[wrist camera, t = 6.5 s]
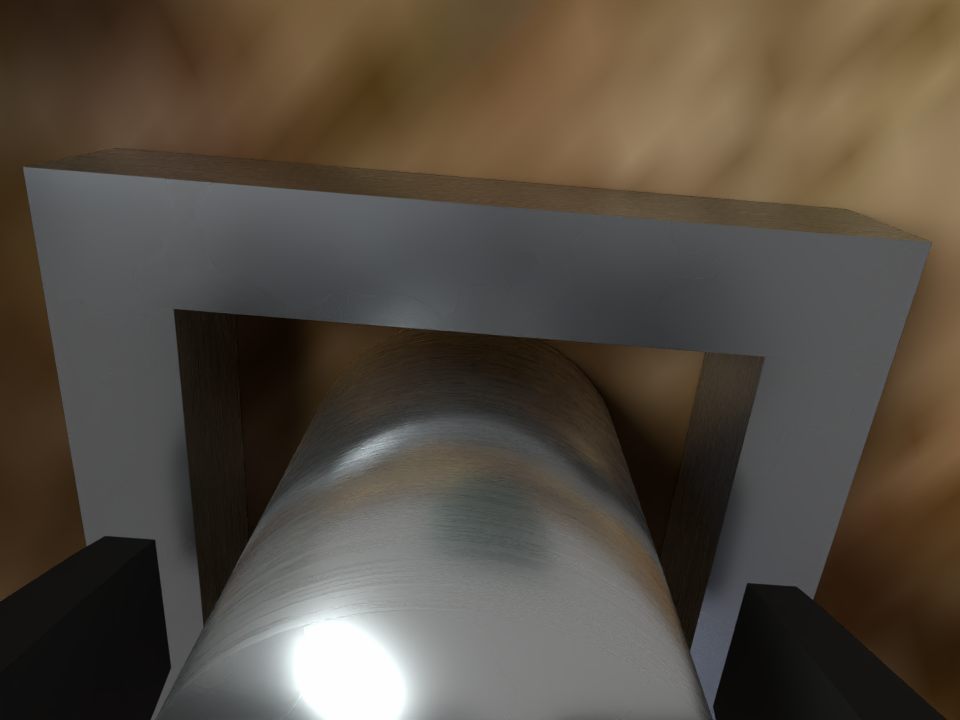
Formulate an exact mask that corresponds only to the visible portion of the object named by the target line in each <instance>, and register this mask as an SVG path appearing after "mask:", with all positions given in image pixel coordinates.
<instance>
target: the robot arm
mask: <svg viewBox="0 0 960 720" xmlns="http://www.w3.org/2000/svg"><path fill="white" fill-rule="evenodd" d="M170 670H171V661H170V653H169V645H168V637H167V629H166V621H165V613H164V605H163V597H162V589H161V581H160V573H159V565H158V557H157V549H156V541H155V539H141V538H128V537H114V536H104V537H102V538H100V539H99V540H97V541H95V542H94V543H92V544H90V545H88V546H87V547H85V548H83V549H82V550H80V551H79V552H77V553H75V554H74V555H72V556H71V557H69V558H67V559H66V560H64V561H63V562H61V563H60V564H58V565H56V566H55V567H53V568H52V569H50V570H49V571H47V572H46V573H44V574H42V575H41V576H39V577H38V578H36V579H35V580H33V581H32V582H30V583H29V584H27V585H25V586H24V587H22V588H21V589H19V590H18V591H16V592H15V593H13V594H12V595H10V596H9V597H7V598H5V599H4V600H2V601H1V602H0V720H151V718H152V716H153V713H154V711H155V708H156V706H157V703H158V700H159V698H160V695H161V693H162V690H163V688H164V685H165V683H166V680H167V677H168V675H169V672H170ZM713 709H714V714H715V719H716V720H946V719H945V718H944V717H943V716H942V715H941V714H940V713H939V712H937V711H936V710H935V709H934V708H933V707H932V706H931V705H929V704H928V703H927V702H926V701H925V700H924V699H923V698H922V697H920V696H919V695H918V694H917V693H916V692H915V691H914V690H913V689H912V688H910V687H909V686H908V685H907V684H906V683H905V682H904V681H903V680H902V679H900V678H899V677H898V676H897V675H896V674H895V673H894V672H893V671H892V670H890V669H889V668H888V667H887V666H886V665H885V664H884V663H883V662H882V661H881V660H879V659H878V658H877V657H876V656H875V655H874V654H873V653H872V652H871V651H869V650H868V649H867V648H866V647H865V646H864V645H863V644H862V643H861V642H860V641H858V640H857V639H856V638H855V637H854V636H853V635H852V634H851V633H850V632H849V631H847V630H846V629H845V628H844V627H843V626H842V625H841V624H840V623H839V622H837V621H836V620H835V619H834V618H833V617H832V616H831V615H830V614H828V613H827V612H826V611H825V610H824V609H823V608H822V607H821V606H819V605H818V604H817V603H816V602H815V601H814V600H812V599H811V598H810V597H809V596H808V595H806V594H805V593H804V592H803V591H802V590H800V589H799V588H798V587H796V586H782V585H769V584H755V583H747V585H746V589H745V592H744V596H743V600H742V603H741V607H740V610H739V614H738V618H737V621H736V625H735V628H734V632H733V635H732V639H731V643H730V646H729V650H728V653H727V657H726V661H725V664H724V668H723V671H722V675H721V679H720V682H719V686H718V689H717V693H716V697H715V700H714V704H713Z"/></svg>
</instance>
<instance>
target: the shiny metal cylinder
mask: <svg viewBox="0 0 960 720" xmlns="http://www.w3.org/2000/svg"><path fill="white" fill-rule="evenodd" d="M155 720H713V718H712V715H711V712H710V709H709V706H708V703H707V701H706V698H705V695H704V692H703V689H702V686H701V683H700V680H699V677H698V674H697V671H696V668H695V665H694V662H693V659H692V656H691V653H690V650H689V647H688V644H687V641H686V638H685V635H684V632H683V629H682V626H681V623H680V620H679V617H678V615H677V612H676V609H675V606H674V603H673V600H672V597H671V594H670V591H669V588H668V585H667V582H666V579H665V576H664V573H663V570H662V567H661V564H660V561H659V558H658V555H657V552H656V549H655V546H654V543H653V540H652V537H651V534H650V531H649V529H648V526H647V523H646V520H645V517H644V514H643V511H642V508H641V505H640V502H639V499H638V496H637V493H636V490H635V487H634V484H633V481H632V478H631V475H630V472H629V469H628V466H627V463H626V460H625V457H624V454H623V451H622V448H621V445H620V443H619V440H618V437H617V434H616V431H615V428H614V425H613V422H612V419H611V416H610V413H609V411H608V409H607V407H606V405H605V403H604V401H603V399H602V397H601V395H600V394H599V392H598V391H597V390H596V388H595V387H594V385H593V384H592V383H591V381H590V380H589V379H588V378H587V377H586V376H585V375H584V373H583V372H582V371H581V370H580V369H579V368H578V367H577V366H576V365H575V364H574V363H572V362H571V361H570V360H569V359H567V358H566V357H565V356H563V355H562V354H561V353H560V352H558V351H557V350H555V349H553V348H552V347H550V346H548V345H547V344H545V343H543V342H542V341H539V340H537V339H535V338H528V337H515V336H503V335H490V334H478V333H466V332H453V331H441V330H429V329H416V328H414V329H411V330H409V331H406V332H403V333H400V334H397V335H394V336H392V337H390V338H388V339H386V340H384V341H382V342H380V343H378V344H376V345H375V346H373V347H372V348H370V349H369V350H367V351H366V352H364V353H363V354H362V355H360V356H359V357H357V358H356V359H355V360H354V361H353V362H352V363H351V364H350V365H349V366H348V367H347V368H345V369H344V370H343V372H342V373H341V374H340V375H339V377H338V378H337V379H336V380H335V381H334V383H333V384H332V385H331V387H330V389H329V390H328V392H327V394H326V395H325V397H324V399H323V400H322V402H321V404H320V406H319V408H318V410H317V412H316V413H315V415H314V417H313V419H312V421H311V423H310V425H309V427H308V429H307V431H306V433H305V434H304V436H303V438H302V440H301V442H300V444H299V446H298V448H297V450H296V452H295V454H294V455H293V457H292V459H291V461H290V463H289V465H288V467H287V469H286V471H285V473H284V475H283V476H282V478H281V480H280V482H279V484H278V486H277V488H276V490H275V492H274V494H273V496H272V497H271V499H270V501H269V503H268V505H267V507H266V509H265V511H264V513H263V515H262V517H261V518H260V520H259V522H258V524H257V526H256V528H255V530H254V532H253V534H252V536H251V538H250V539H249V541H248V543H247V545H246V547H245V549H244V551H243V553H242V555H241V557H240V559H239V560H238V562H237V564H236V566H235V568H234V570H233V572H232V574H231V576H230V578H229V580H228V581H227V583H226V585H225V587H224V589H223V591H222V593H221V595H220V597H219V599H218V601H217V602H216V604H215V606H214V608H213V610H212V612H211V614H210V616H209V618H208V620H207V622H206V623H205V625H204V627H203V629H202V631H201V633H200V635H199V637H198V639H197V641H196V643H195V644H194V646H193V648H192V650H191V652H190V654H189V656H188V658H187V660H186V662H185V664H184V665H183V667H182V669H181V671H180V673H179V675H178V677H177V679H176V681H175V683H174V685H173V686H172V688H171V690H170V692H169V694H168V696H167V698H166V700H165V702H164V704H163V706H162V707H161V709H160V711H159V713H158V715H157V717H156V719H155Z"/></svg>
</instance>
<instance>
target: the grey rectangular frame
mask: <svg viewBox="0 0 960 720" xmlns="http://www.w3.org/2000/svg"><path fill="white" fill-rule="evenodd" d="M23 171H24V177H25V183H26V189H27V195H28V201H29V207H30V212H31V218H32V224H33V230H34V236H35V242H36V248H37V254H38V260H39V266H40V272H41V278H42V284H43V290H44V296H45V302H46V308H47V314H48V320H49V326H50V332H51V338H52V344H53V350H54V356H55V362H56V367H57V373H58V379H59V385H60V391H61V397H62V403H63V409H64V415H65V421H66V427H67V433H68V439H69V445H70V451H71V457H72V463H73V469H74V475H75V481H76V487H77V493H78V499H79V505H80V511H81V516H82V522H83V528H84V534H85V540H86V546H88V545H90V544H92V543H94V542H95V541H97V540H99V539H100V538H102V537H104V536H114V537H128V538H141V539H155V541H156V549H157V557H158V565H159V573H160V581H161V589H162V597H163V605H164V613H165V621H166V629H167V637H168V645H169V653H170V661H171V670H170V672H169V675H168V677H167V680H166V683H165V685H164V688H163V690H162V693H161V695H160V698H159V700H158V703H157V706H156V708H155V711H154V713H153V716H152V718H151V720H155V719H156V717H157V715H158V713H159V711H160V709H161V707H162V706H163V704H164V702H165V700H166V698H167V696H168V694H169V692H170V690H171V688H172V686H173V685H174V683H175V681H176V679H177V677H178V675H179V673H180V671H181V669H182V667H183V665H184V664H185V662H186V660H187V658H188V656H189V654H190V652H191V650H192V648H193V646H194V644H195V643H196V641H197V639H198V637H199V635H200V633H201V631H202V629H203V627H204V625H205V623H206V622H207V620H208V618H209V616H210V614H211V612H212V610H213V608H214V606H215V604H216V602H217V601H218V599H219V597H220V595H221V593H222V591H223V589H224V587H225V585H226V583H227V581H228V580H229V578H230V576H231V574H232V572H233V570H234V568H235V566H236V564H237V562H238V560H239V559H240V557H241V555H242V553H243V551H244V549H245V547H246V545H247V543H248V541H249V536H248V519H247V502H246V485H245V468H244V451H243V434H242V417H241V400H240V383H239V366H238V349H237V331H236V314H243V315H255V316H267V317H280V318H292V319H305V320H317V321H329V322H342V323H354V324H367V325H379V326H391V327H404V328H416V329H429V330H441V331H453V332H466V333H478V334H490V335H503V336H515V337H528V338H540V339H552V340H565V341H577V342H590V343H602V344H614V345H627V346H639V347H652V348H664V349H676V350H689V351H701V352H705V356H704V361H703V365H702V370H701V375H700V379H699V384H698V388H697V393H696V397H695V402H694V406H693V411H692V416H691V420H690V425H689V429H688V434H687V438H686V443H685V447H684V452H683V457H682V461H681V466H680V470H679V475H678V479H677V484H676V489H675V493H674V498H673V502H672V507H671V511H670V516H669V520H668V525H667V530H666V534H665V539H664V543H663V548H662V552H661V557H660V564H661V567H662V570H663V573H664V576H665V579H666V582H667V585H668V588H669V591H670V594H671V597H672V600H673V603H674V606H675V609H676V612H677V615H678V617H679V620H680V623H681V626H682V629H683V632H684V635H685V638H686V641H687V644H688V647H689V650H690V653H691V656H692V659H693V662H694V665H695V668H696V671H697V674H698V677H699V680H700V683H701V686H702V689H703V692H704V695H705V698H706V701H707V703H708V706H709V709H710V712H711V715H712V718H713V720H716V719H715V714H714V709H713V704H714V700H715V697H716V693H717V689H718V686H719V682H720V679H721V675H722V671H723V668H724V664H725V661H726V657H727V653H728V650H729V646H730V643H731V639H732V635H733V632H734V628H735V625H736V621H737V618H738V614H739V610H740V607H741V603H742V600H743V596H744V592H745V589H746V585H747V583H755V584H769V585H782V586H796V587H798V588H799V589H800V590H802V591H803V592H804V593H805V594H806V595H808V596H809V597H810V598H811V599H812V600H813V599H814V596H815V593H816V590H817V587H818V584H819V581H820V578H821V575H822V572H823V569H824V566H825V563H826V560H827V557H828V554H829V551H830V548H831V545H832V542H833V539H834V536H835V533H836V530H837V527H838V524H839V521H840V518H841V515H842V512H843V509H844V506H845V503H846V500H847V496H848V493H849V490H850V487H851V484H852V481H853V478H854V475H855V472H856V469H857V466H858V463H859V460H860V457H861V454H862V451H863V448H864V445H865V442H866V439H867V436H868V433H869V430H870V427H871V424H872V421H873V418H874V415H875V412H876V409H877V406H878V403H879V400H880V397H881V394H882V391H883V388H884V385H885V382H886V379H887V376H888V373H889V370H890V367H891V364H892V361H893V358H894V355H895V352H896V349H897V346H898V343H899V340H900V337H901V334H902V331H903V328H904V325H905V322H906V319H907V316H908V313H909V310H910V307H911V304H912V301H913V298H914V295H915V292H916V289H917V286H918V283H919V280H920V277H921V274H922V271H923V268H924V265H925V262H926V259H927V256H928V253H929V250H930V247H931V244H932V242H929V241H927V240H924V239H922V238H919V237H917V236H914V235H911V234H909V233H906V232H904V231H901V230H899V229H896V228H894V227H891V226H888V225H886V224H883V223H881V222H878V221H876V220H873V219H871V218H868V217H865V216H863V215H860V214H858V213H855V212H853V211H850V210H848V209H837V208H825V207H813V206H801V205H789V204H777V203H765V202H753V201H741V200H729V199H717V198H705V197H693V196H681V195H669V194H658V193H646V192H634V191H622V190H610V189H598V188H586V187H574V186H562V185H550V184H538V183H526V182H514V181H502V180H490V179H478V178H466V177H454V176H442V175H431V174H419V173H407V172H395V171H383V170H371V169H359V168H347V167H335V166H323V165H311V164H299V163H287V162H275V161H263V160H251V159H239V158H227V157H215V156H203V155H192V154H180V153H168V152H156V151H144V150H132V149H120V148H113V149H108V150H103V151H98V152H94V153H89V154H84V155H79V156H74V157H69V158H64V159H59V160H54V161H49V162H44V163H39V164H34V165H30V166H25V167H23Z"/></svg>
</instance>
